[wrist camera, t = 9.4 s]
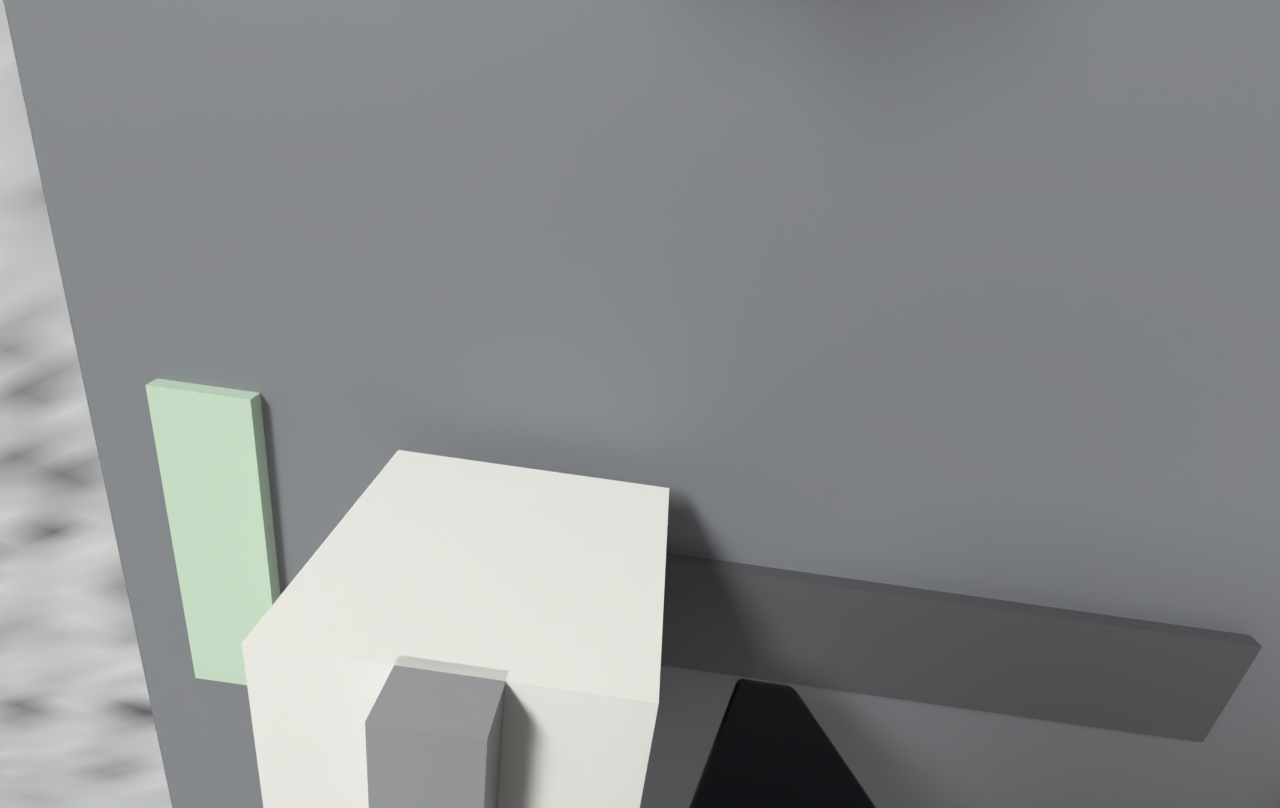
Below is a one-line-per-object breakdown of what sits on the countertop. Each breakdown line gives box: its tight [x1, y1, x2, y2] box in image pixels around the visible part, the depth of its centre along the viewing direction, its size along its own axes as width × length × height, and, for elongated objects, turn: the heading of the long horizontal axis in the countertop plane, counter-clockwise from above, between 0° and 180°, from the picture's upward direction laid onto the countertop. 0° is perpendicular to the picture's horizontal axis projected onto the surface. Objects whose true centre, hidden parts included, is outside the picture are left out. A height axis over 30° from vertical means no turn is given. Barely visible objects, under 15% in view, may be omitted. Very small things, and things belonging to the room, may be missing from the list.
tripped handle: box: [241, 450, 669, 808], centre depth 7 cm, size 3×4×4 cm
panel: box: [3, 0, 1280, 808], centre depth 7 cm, size 18×23×2 cm
